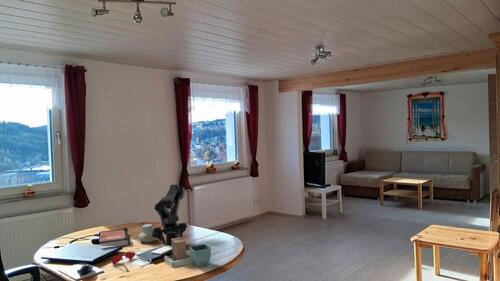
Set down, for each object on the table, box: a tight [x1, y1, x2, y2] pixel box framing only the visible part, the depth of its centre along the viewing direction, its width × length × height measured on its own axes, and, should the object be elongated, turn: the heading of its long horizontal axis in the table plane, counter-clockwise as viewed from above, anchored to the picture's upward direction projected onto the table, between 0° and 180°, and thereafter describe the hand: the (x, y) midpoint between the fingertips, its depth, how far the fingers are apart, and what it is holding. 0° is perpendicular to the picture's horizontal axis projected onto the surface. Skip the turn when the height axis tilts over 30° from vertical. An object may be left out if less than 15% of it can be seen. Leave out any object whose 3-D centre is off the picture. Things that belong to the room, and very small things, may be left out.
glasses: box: [110, 250, 153, 273], centre depth 195 cm, size 14×16×5 cm
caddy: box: [171, 237, 187, 261], centre depth 198 cm, size 7×5×11 cm
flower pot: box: [188, 243, 212, 268], centre depth 191 cm, size 9×9×9 cm
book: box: [98, 227, 131, 247], centre depth 238 cm, size 26×18×5 cm
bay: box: [164, 251, 194, 268], centre depth 197 cm, size 12×12×2 cm
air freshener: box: [138, 223, 157, 244], centre depth 235 cm, size 11×8×10 cm
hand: (173, 243), depth 205 cm, fingers open, 9 cm apart
